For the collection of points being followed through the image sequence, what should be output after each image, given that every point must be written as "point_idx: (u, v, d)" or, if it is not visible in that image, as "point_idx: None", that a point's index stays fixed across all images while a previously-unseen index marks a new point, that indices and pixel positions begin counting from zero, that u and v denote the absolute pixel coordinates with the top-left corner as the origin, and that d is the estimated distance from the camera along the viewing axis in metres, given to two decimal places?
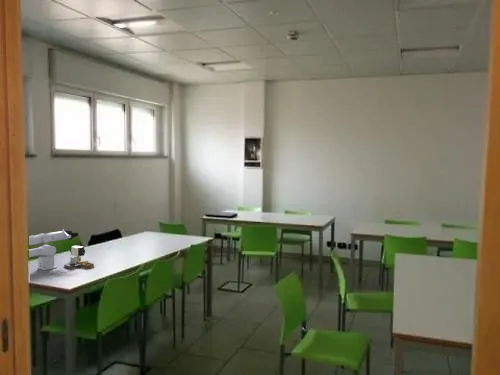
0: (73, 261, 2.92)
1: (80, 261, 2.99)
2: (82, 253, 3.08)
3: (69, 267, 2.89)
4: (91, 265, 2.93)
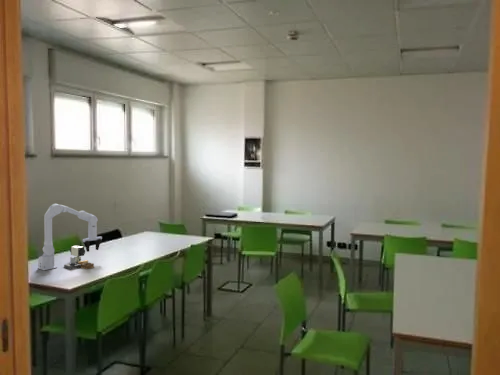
0: (73, 261, 2.92)
1: (80, 261, 2.99)
2: (82, 253, 3.08)
3: (69, 267, 2.89)
4: (91, 265, 2.93)
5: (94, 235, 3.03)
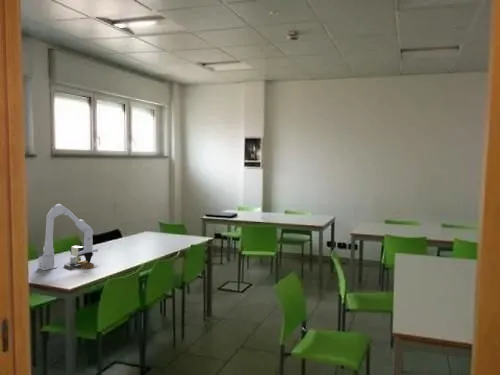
0: (73, 261, 2.92)
1: (79, 261, 2.98)
2: None
3: (69, 267, 2.89)
4: (91, 265, 2.93)
5: (90, 247, 3.01)
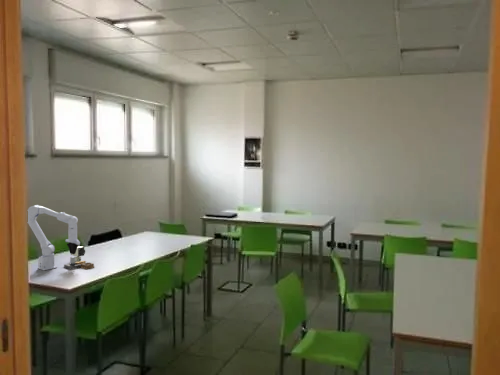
0: (73, 261, 2.92)
1: (77, 262, 2.97)
2: (82, 253, 3.08)
3: (69, 267, 2.89)
4: (91, 265, 2.93)
5: None
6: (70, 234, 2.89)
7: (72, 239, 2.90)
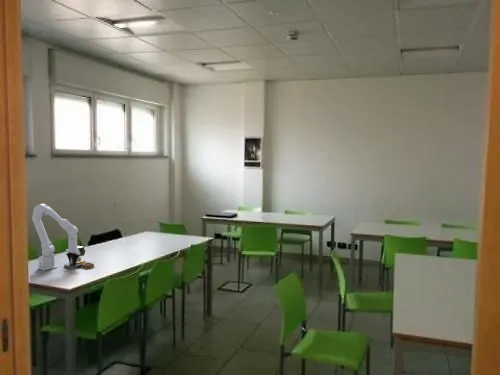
0: None
1: (77, 262, 2.97)
2: (82, 253, 3.08)
3: (69, 267, 2.89)
4: (91, 265, 2.93)
5: None
6: (70, 244, 2.90)
7: (72, 249, 2.90)
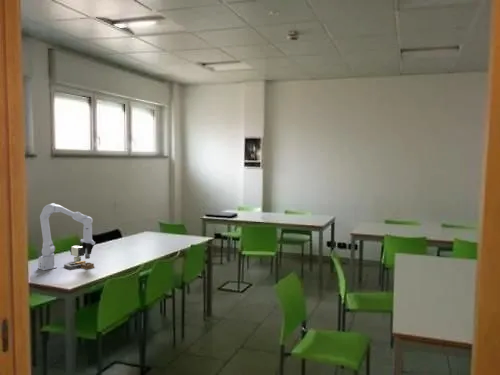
0: None
1: (77, 262, 2.97)
2: (82, 253, 3.08)
3: (69, 267, 2.89)
4: (91, 265, 2.93)
5: None
6: (85, 234, 2.90)
7: (87, 239, 2.91)
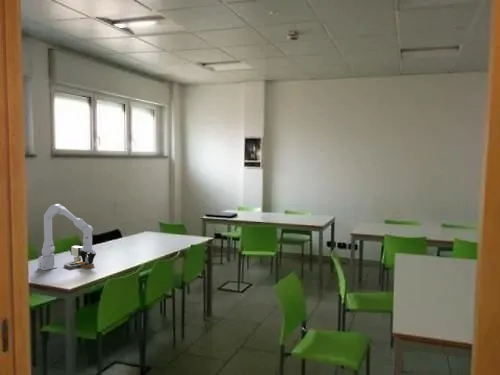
0: (88, 260, 2.93)
1: (77, 262, 2.97)
2: None
3: (69, 267, 2.89)
4: (91, 265, 2.93)
5: None
6: (85, 243, 2.91)
7: (87, 248, 2.91)
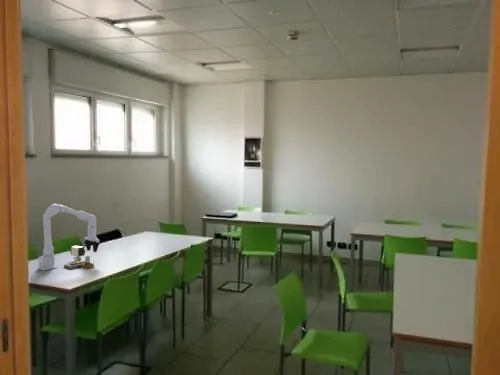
0: (88, 260, 2.93)
1: (77, 262, 2.97)
2: (82, 253, 3.08)
3: (69, 267, 2.89)
4: (91, 265, 2.93)
5: None
6: (89, 232, 2.98)
7: (91, 237, 2.98)
